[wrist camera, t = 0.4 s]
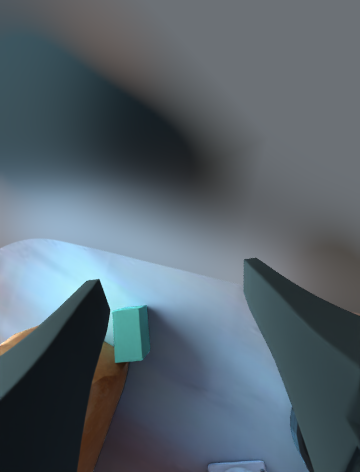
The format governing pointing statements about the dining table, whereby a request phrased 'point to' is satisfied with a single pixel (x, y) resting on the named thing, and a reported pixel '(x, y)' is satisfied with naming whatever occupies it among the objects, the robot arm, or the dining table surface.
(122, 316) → the teal rectangular block
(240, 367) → the dining table surface
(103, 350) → the bread
